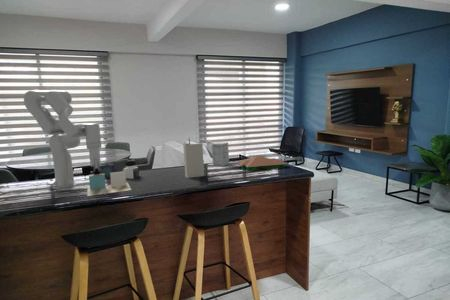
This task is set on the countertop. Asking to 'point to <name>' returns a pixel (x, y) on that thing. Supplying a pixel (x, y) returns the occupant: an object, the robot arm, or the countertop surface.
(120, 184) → the beige square tile
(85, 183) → the countertop surface
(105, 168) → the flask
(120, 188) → the board
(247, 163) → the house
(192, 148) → the beige box with antenna
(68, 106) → the robot arm
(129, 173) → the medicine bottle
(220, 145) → the supplement box
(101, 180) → the teal square slab
